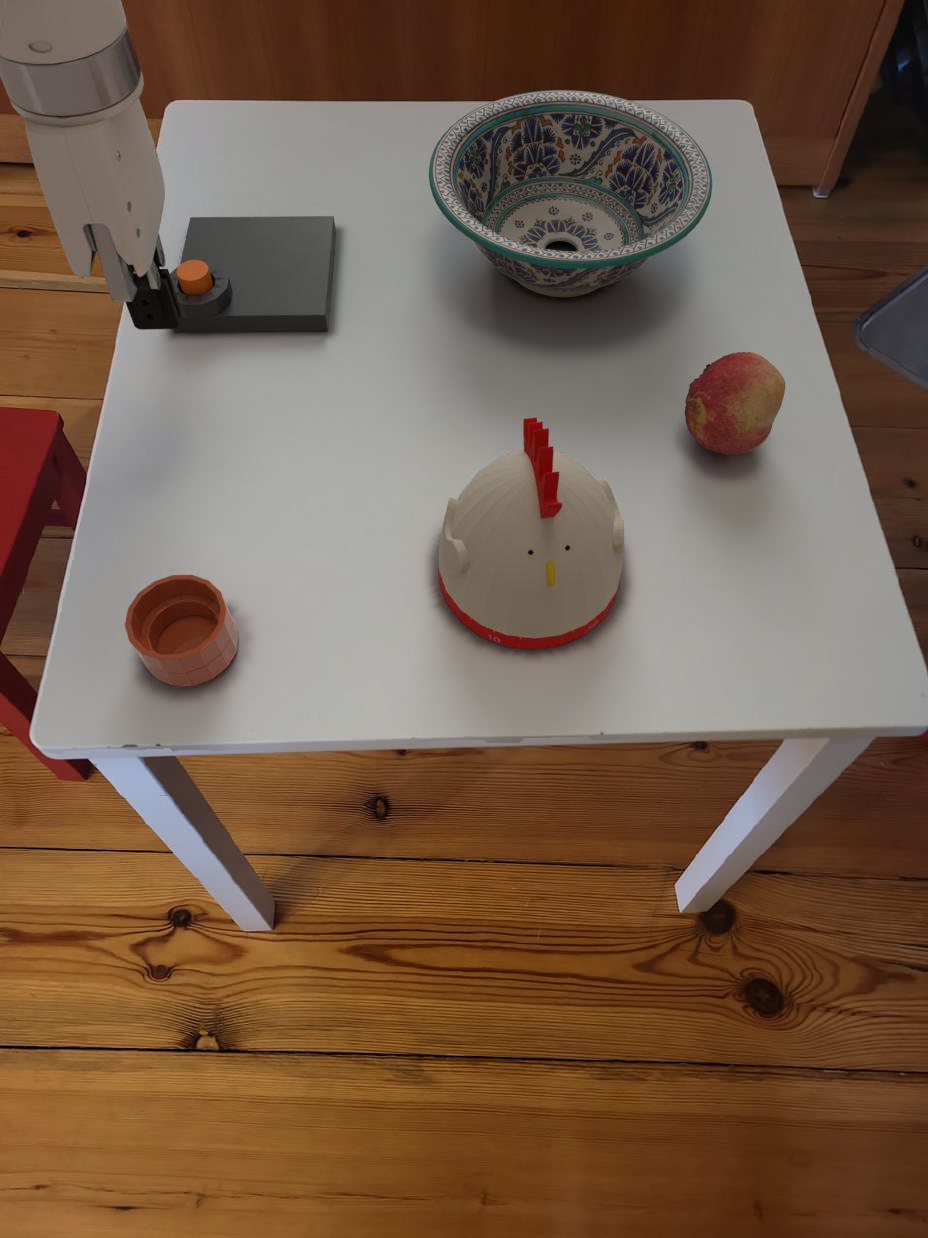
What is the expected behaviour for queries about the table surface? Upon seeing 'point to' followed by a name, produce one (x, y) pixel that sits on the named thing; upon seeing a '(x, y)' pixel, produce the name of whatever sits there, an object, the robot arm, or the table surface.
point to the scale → (259, 274)
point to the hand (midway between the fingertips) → (159, 321)
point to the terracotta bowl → (182, 630)
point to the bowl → (569, 186)
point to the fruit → (734, 403)
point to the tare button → (194, 278)
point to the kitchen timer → (532, 548)
